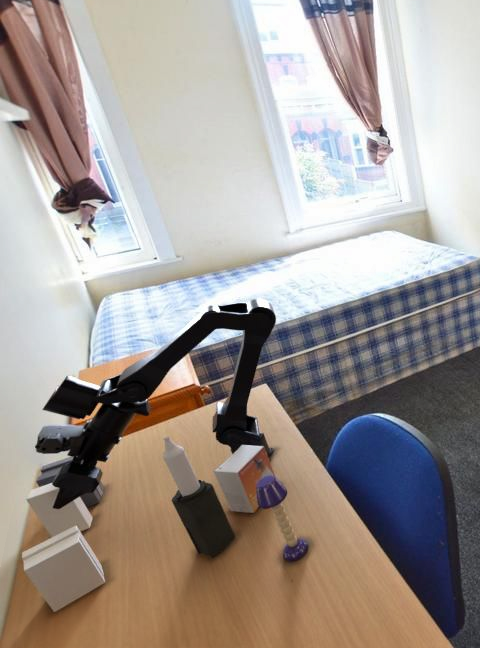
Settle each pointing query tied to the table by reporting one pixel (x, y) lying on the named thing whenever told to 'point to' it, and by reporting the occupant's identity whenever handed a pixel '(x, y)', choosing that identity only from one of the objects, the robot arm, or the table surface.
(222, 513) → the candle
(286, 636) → the table surface
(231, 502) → the small box
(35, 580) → the white books
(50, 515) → the white tall block
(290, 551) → the toy lamp
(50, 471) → the grey books
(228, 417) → the robot arm
